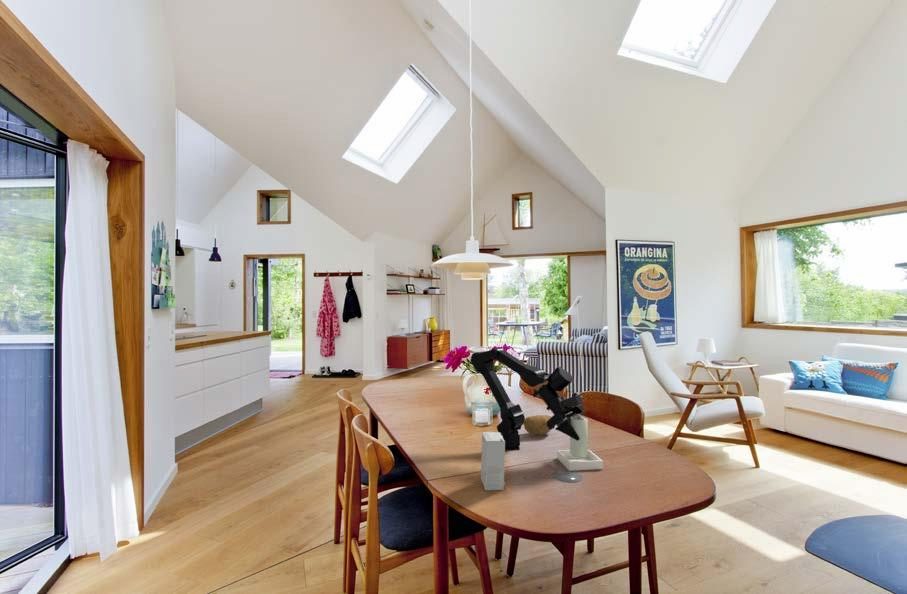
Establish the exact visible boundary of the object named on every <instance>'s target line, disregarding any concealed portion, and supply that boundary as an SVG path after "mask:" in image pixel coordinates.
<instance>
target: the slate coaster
mask: <svg viewBox="0 0 907 594" xmlns="http://www.w3.org/2000/svg"><path fill="white" fill-rule="evenodd" d="M552 477H553V479H555V480H557V481H558V482H562V483H566V484H575V483H579V482H582V481H583V479H584V478H583V476H582V475H581V474H580V473H577V472H574V471H569V470H568V471H567V470H561V471H556V472H554V473H553V474H552Z"/></svg>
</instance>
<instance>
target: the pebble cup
mask: <svg viewBox="0 0 907 594" xmlns="http://www.w3.org/2000/svg"><path fill="white" fill-rule="evenodd" d="M570 419H571V425H572V427H573V428H574V430H575V431H576V433H577V434H578V436H579V438H580V439H579V440H578V441H577V440H575V439H573V438H572V437H570V436H569V437H570V439H569V440H570V441H569V443H570V445H569V447H570V449H569V450H570V455H572V456H574V457H578V458H584V457H587V456H588V447H589V446H588V444H589V442H588V441H589V437H588V436H589V435H588V434H589V429H588V428H589V425H588V424H589V419H588V418H587V417H584V416H583V415H582V416H581V415H580V414H577V416H574V417H571V418H570Z"/></svg>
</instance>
